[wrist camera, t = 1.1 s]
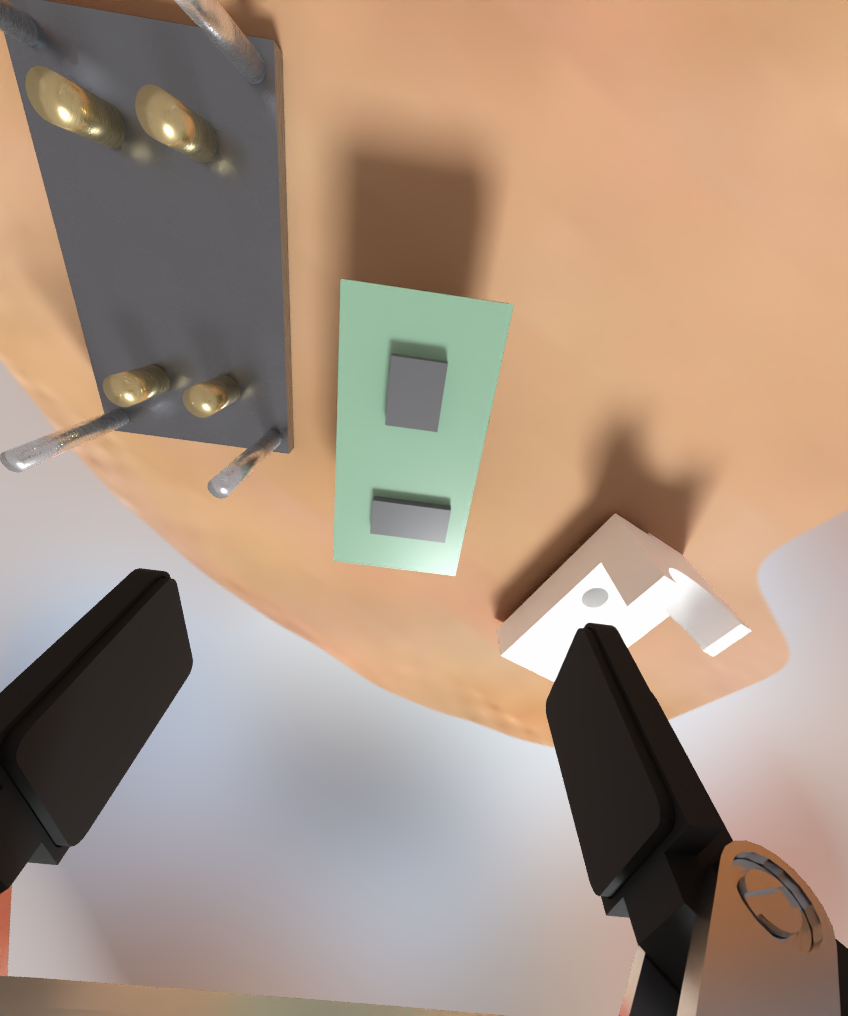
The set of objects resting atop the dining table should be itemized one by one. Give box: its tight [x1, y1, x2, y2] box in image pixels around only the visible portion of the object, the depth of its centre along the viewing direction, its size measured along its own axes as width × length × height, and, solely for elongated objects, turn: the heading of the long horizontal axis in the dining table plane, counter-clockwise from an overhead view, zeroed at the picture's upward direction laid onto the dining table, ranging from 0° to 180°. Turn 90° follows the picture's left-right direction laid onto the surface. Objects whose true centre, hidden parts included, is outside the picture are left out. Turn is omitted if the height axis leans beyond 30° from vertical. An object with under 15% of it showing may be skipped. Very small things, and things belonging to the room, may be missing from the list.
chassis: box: [0, 0, 294, 498], centre depth 18 cm, size 18×11×8 cm, turn 172°
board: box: [333, 279, 514, 576], centre depth 20 cm, size 14×7×3 cm, turn 172°
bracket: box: [496, 513, 752, 682], centre depth 28 cm, size 13×7×8 cm, turn 148°
